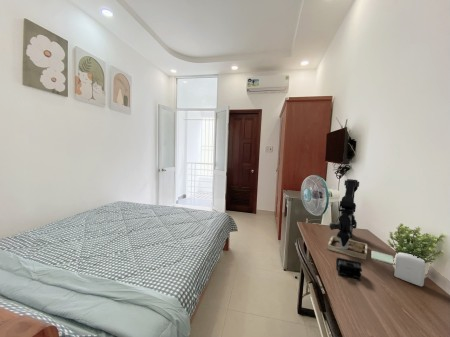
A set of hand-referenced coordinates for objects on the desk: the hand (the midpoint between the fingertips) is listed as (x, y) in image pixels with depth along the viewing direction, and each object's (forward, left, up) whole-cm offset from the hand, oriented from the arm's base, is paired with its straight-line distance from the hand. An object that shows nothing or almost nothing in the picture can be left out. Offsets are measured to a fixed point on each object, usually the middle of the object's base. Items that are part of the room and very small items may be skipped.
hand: (343, 244), depth 126 cm
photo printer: (+18, +28, -2) cm, 33 cm away
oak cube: (-2, +7, -2) cm, 7 cm away
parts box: (0, 0, -1) cm, 1 cm away
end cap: (+30, +5, -2) cm, 30 cm away
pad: (0, +19, -2) cm, 19 cm away
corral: (0, +2, -2) cm, 3 cm away
